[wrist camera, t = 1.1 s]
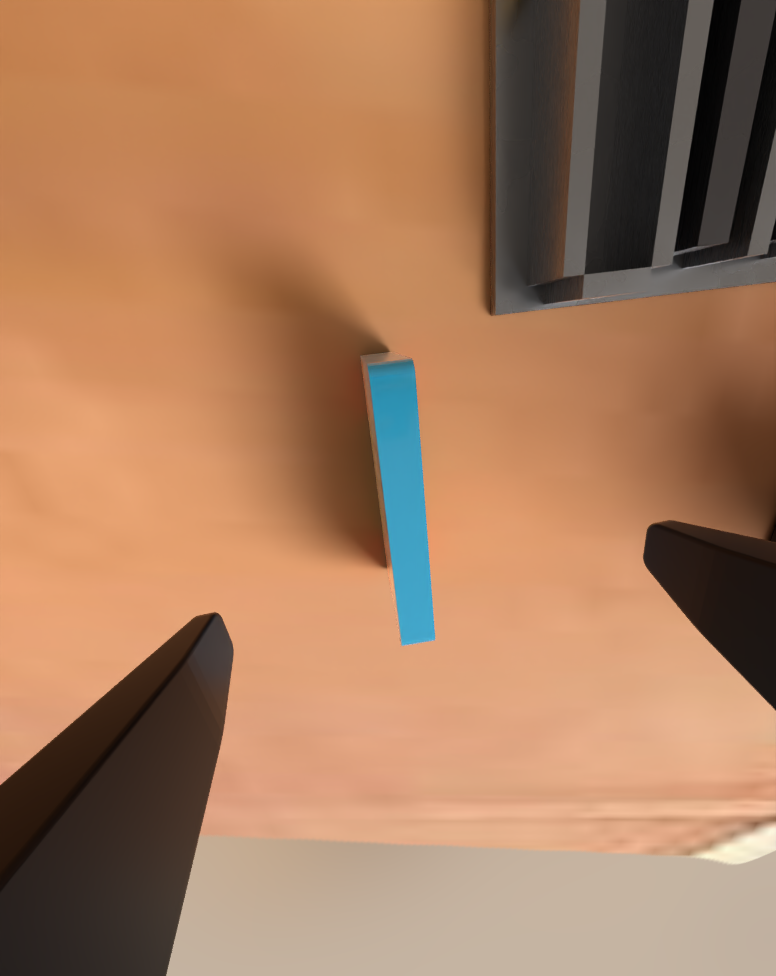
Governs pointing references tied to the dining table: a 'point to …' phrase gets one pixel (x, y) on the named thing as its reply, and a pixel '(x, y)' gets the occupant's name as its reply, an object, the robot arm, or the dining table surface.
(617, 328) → the dining table surface
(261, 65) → the dining table surface
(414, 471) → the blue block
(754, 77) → the rack
